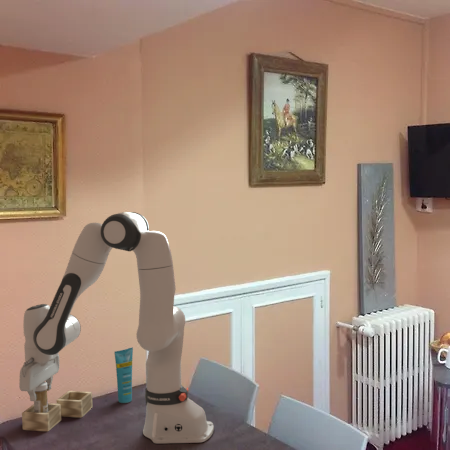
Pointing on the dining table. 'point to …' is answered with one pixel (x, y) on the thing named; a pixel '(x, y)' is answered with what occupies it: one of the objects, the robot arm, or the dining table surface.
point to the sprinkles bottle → (41, 399)
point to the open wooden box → (75, 403)
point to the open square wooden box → (41, 418)
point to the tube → (124, 374)
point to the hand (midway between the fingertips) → (41, 395)
